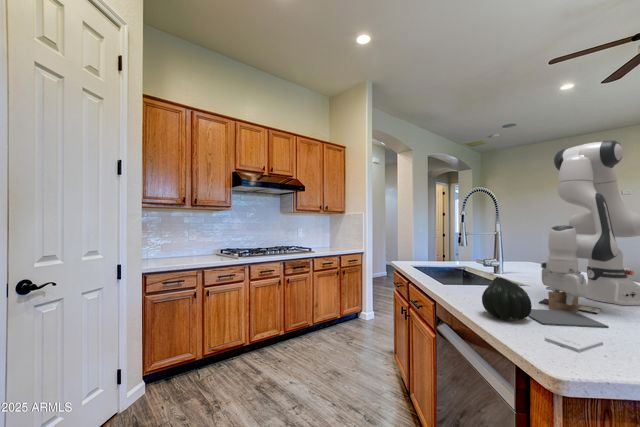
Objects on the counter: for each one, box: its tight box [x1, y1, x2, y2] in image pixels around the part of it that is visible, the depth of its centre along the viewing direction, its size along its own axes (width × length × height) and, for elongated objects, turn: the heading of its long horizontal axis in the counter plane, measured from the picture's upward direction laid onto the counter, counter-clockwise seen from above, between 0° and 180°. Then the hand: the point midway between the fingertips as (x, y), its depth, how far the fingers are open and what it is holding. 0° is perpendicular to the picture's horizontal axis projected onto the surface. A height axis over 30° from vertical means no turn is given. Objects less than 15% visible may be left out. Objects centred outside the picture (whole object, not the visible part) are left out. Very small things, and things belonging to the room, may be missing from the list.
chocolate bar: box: [538, 298, 602, 315], centre depth 118 cm, size 9×1×18 cm
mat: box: [527, 308, 609, 329], centre depth 104 cm, size 20×16×1 cm
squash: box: [481, 276, 533, 321], centre depth 105 cm, size 14×15×15 cm
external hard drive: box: [544, 331, 604, 353], centre depth 83 cm, size 2×8×12 cm
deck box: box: [547, 291, 579, 313], centre depth 113 cm, size 9×3×7 cm, turn 83°
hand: (563, 302), depth 113 cm, fingers open, 4 cm apart
